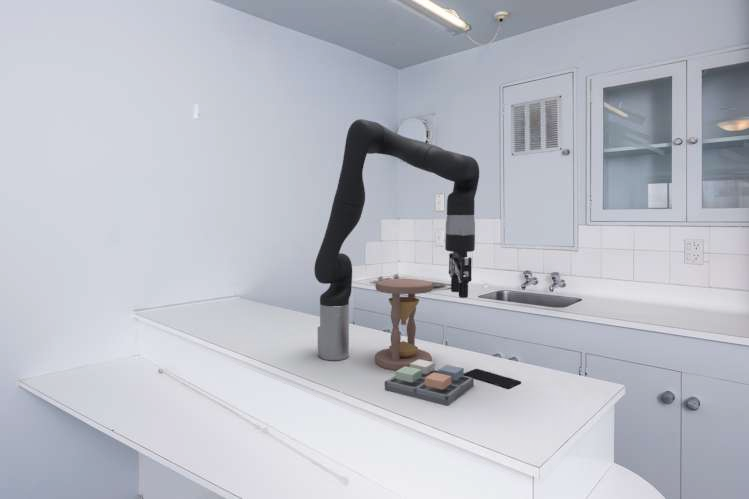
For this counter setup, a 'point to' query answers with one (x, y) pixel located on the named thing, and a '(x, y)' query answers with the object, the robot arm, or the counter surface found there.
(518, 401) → the counter surface
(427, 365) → the cream key
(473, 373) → the smartphone
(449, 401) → the keypad
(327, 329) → the robot arm
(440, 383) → the terracotta key
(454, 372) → the slate key
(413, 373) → the sage key
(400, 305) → the hourglass
